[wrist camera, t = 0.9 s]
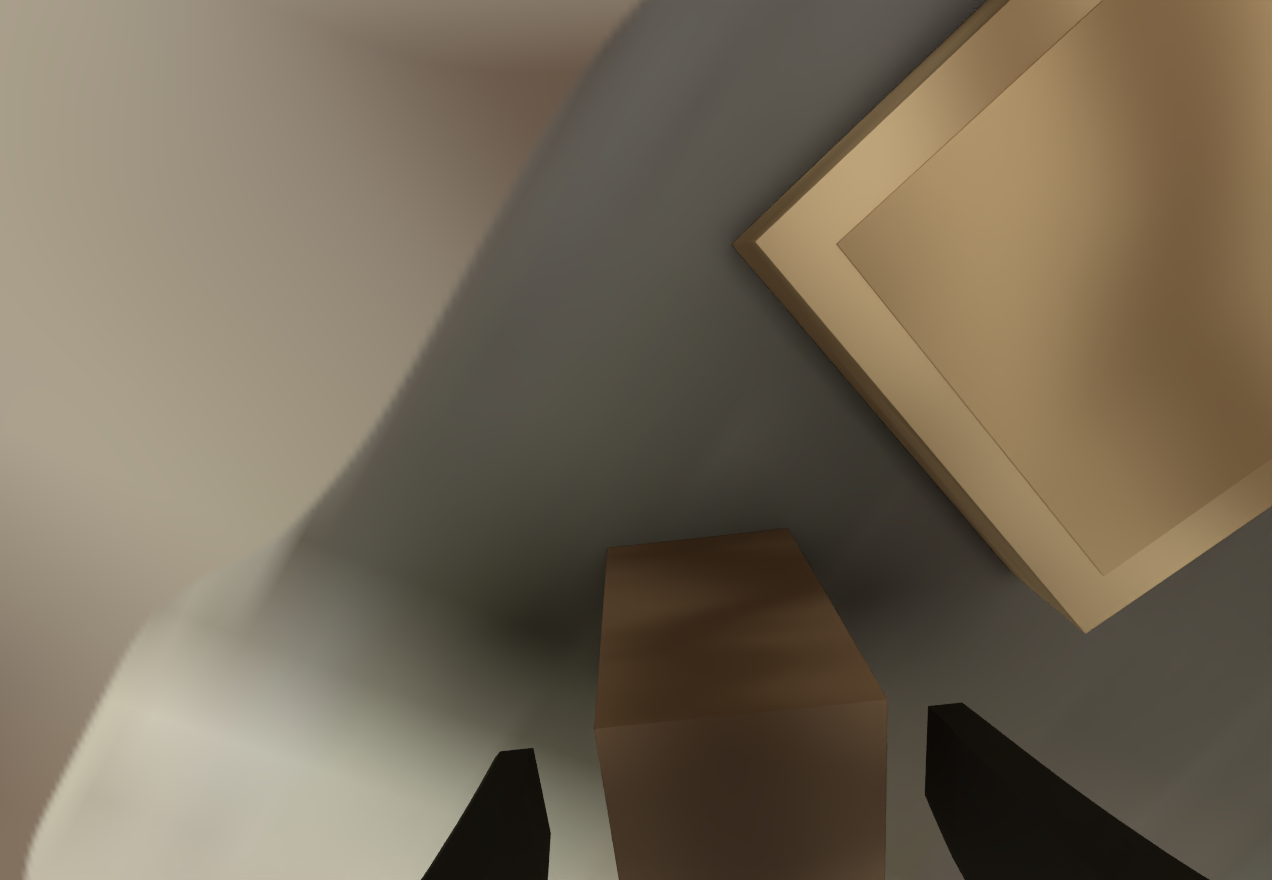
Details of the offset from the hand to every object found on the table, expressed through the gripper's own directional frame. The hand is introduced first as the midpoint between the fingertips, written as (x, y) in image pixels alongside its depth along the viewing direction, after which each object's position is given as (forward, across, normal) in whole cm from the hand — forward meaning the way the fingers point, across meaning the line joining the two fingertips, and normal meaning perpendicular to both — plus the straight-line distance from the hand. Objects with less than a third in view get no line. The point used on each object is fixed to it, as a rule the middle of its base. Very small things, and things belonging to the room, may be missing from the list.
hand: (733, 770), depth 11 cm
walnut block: (+5, 0, 0) cm, 5 cm away
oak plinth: (+5, -9, -8) cm, 13 cm away
